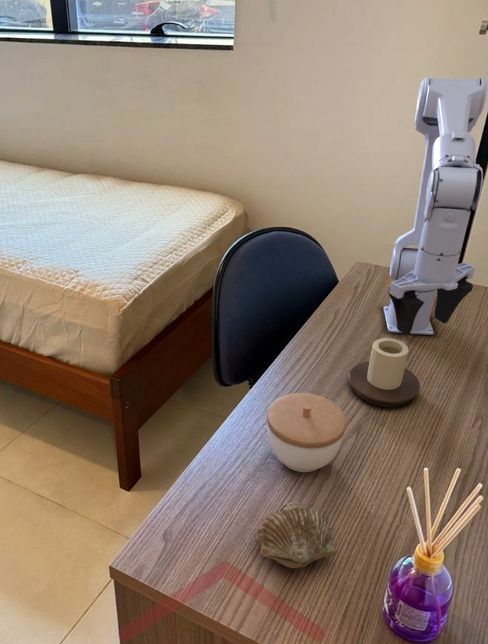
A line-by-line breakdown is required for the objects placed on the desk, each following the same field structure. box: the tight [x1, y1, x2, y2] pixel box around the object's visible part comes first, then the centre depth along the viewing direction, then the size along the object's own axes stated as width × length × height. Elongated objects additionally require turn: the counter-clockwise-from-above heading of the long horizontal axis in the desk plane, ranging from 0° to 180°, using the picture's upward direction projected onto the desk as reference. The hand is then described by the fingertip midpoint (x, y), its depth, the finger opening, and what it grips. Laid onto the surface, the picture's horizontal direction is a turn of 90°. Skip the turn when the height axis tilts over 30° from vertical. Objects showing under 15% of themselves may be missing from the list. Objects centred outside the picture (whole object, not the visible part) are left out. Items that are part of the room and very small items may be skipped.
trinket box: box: [266, 392, 347, 473], centre depth 84 cm, size 11×11×9 cm
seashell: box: [253, 501, 338, 569], centre depth 71 cm, size 9×7×8 cm
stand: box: [348, 360, 421, 408], centre depth 99 cm, size 11×11×2 cm
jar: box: [367, 337, 410, 390], centre depth 96 cm, size 5×5×6 cm
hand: (422, 325), depth 96 cm, fingers open, 7 cm apart
